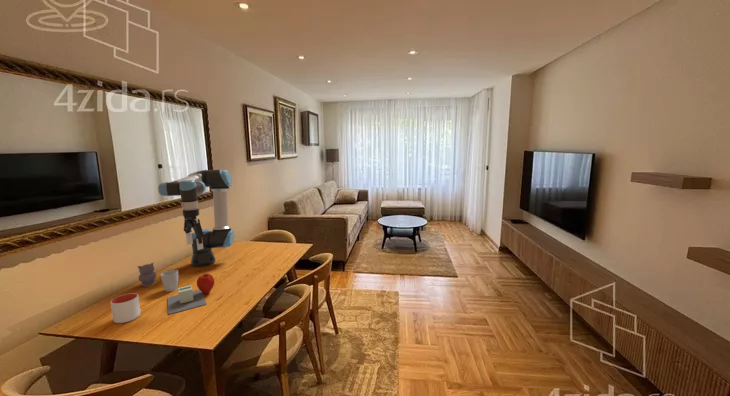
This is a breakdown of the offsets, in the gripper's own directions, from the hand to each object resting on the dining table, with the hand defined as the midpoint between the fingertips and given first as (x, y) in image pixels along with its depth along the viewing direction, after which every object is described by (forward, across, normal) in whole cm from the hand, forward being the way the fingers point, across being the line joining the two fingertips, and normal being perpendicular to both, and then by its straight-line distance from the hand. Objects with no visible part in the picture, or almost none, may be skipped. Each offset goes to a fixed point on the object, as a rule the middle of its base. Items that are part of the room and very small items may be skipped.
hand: (195, 246), depth 162 cm
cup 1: (+24, +6, -34) cm, 42 cm away
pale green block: (+23, +10, -11) cm, 28 cm away
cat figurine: (+25, -31, -16) cm, 43 cm away
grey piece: (+24, +10, -11) cm, 29 cm away
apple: (+25, +9, 0) cm, 26 cm away
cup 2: (+25, -11, -11) cm, 30 cm away
